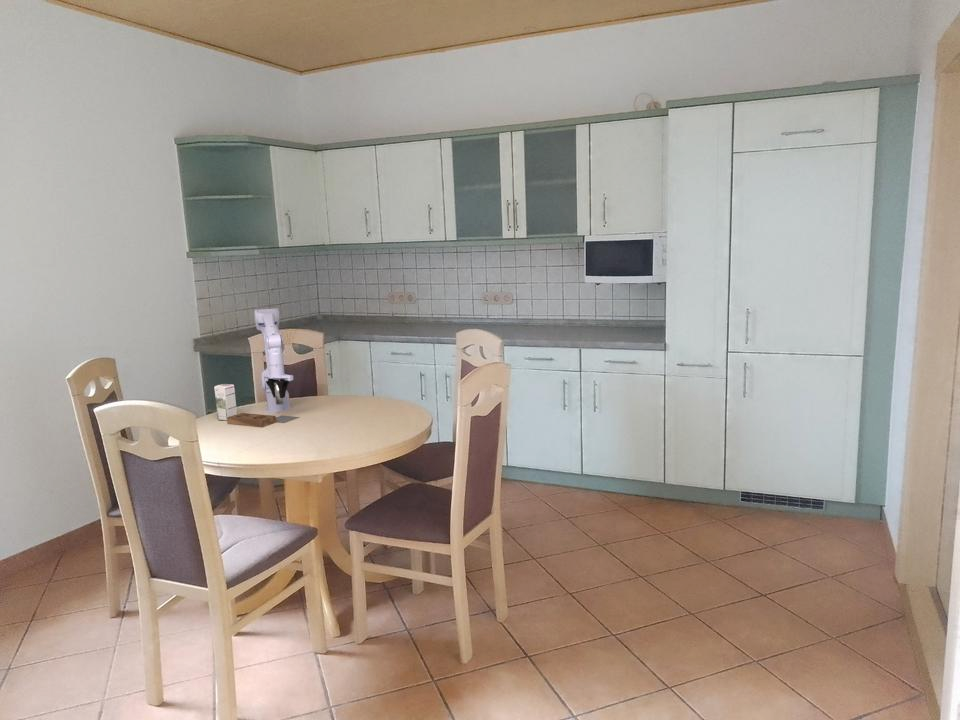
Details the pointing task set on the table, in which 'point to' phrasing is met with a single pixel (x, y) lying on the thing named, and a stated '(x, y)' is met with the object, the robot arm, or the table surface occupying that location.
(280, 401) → the peg
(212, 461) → the table surface
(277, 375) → the robot arm
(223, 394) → the syrup box
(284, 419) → the rubber mat
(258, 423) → the walnut hole block
